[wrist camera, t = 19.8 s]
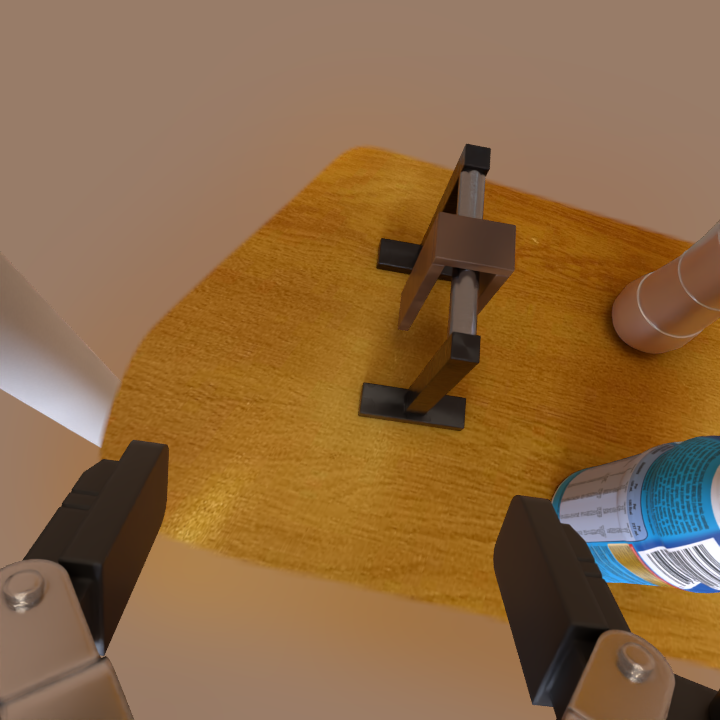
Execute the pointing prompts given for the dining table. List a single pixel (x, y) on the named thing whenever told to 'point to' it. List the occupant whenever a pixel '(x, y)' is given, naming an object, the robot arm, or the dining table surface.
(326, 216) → the dining table surface
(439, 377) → the rack
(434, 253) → the two-legged arch bridge
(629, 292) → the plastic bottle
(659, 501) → the beverage bottle
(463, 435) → the dining table surface
